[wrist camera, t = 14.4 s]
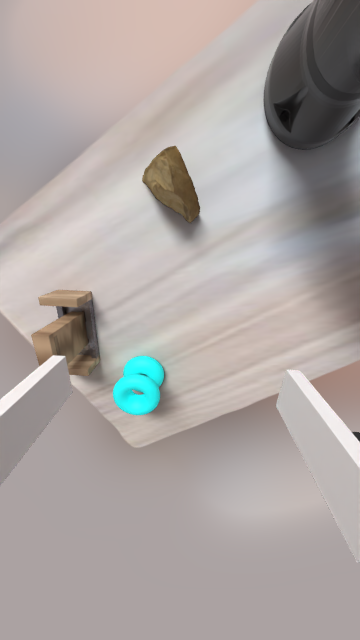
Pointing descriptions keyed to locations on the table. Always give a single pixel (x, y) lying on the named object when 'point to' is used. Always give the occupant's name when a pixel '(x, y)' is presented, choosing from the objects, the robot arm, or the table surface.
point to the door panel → (61, 338)
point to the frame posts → (72, 299)
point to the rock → (172, 183)
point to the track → (90, 326)
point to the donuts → (139, 386)
